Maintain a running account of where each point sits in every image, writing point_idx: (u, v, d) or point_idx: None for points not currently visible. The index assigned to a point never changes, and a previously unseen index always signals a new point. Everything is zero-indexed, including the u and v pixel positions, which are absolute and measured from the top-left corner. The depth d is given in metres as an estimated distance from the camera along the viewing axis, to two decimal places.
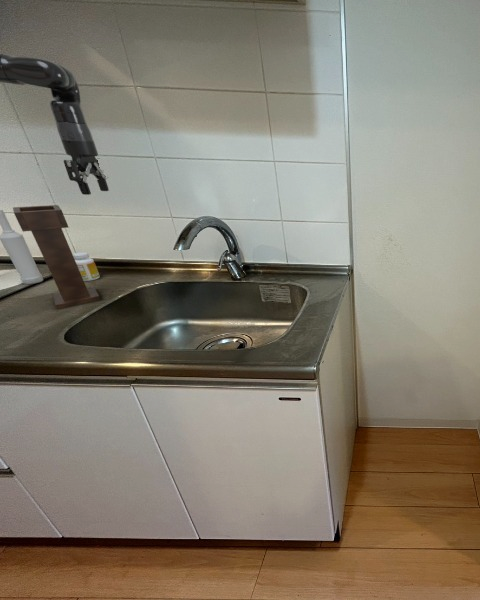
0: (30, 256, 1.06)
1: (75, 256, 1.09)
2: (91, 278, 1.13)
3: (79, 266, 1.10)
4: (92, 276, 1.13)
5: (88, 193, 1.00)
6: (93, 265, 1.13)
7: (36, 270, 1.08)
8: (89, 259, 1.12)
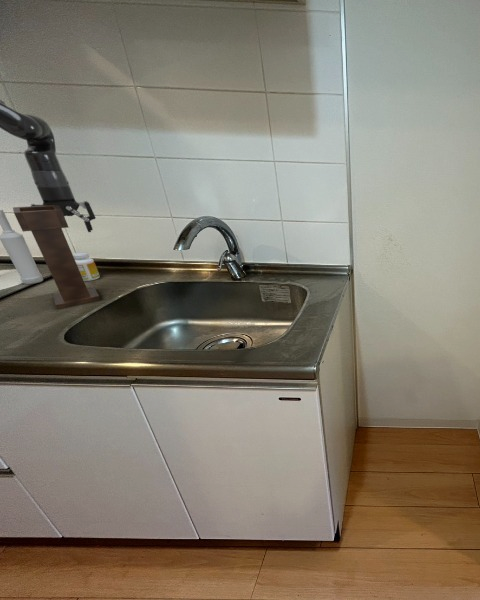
0: (30, 256, 1.06)
1: (75, 256, 1.09)
2: (91, 278, 1.13)
3: (79, 266, 1.10)
4: (92, 276, 1.13)
5: None
6: (93, 265, 1.13)
7: (36, 270, 1.08)
8: (89, 259, 1.12)
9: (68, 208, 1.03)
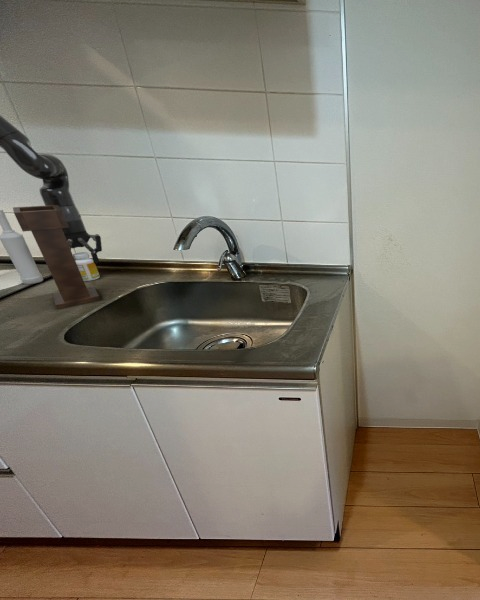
0: (30, 256, 1.06)
1: (75, 256, 1.09)
2: (91, 278, 1.13)
3: (79, 266, 1.10)
4: (92, 276, 1.13)
5: None
6: (93, 265, 1.13)
7: (36, 270, 1.08)
8: (89, 259, 1.12)
9: (80, 240, 1.08)
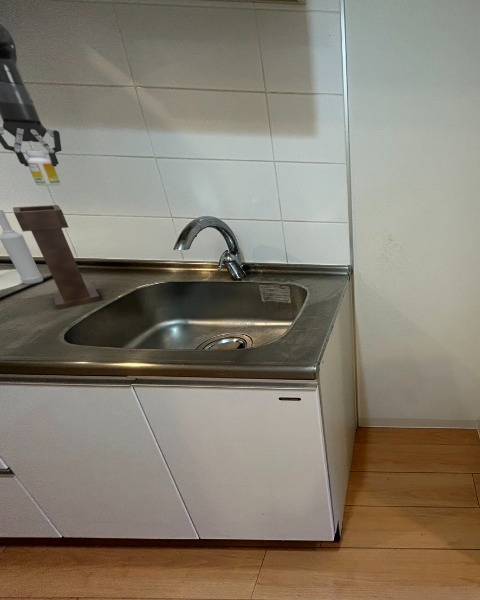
0: (30, 256, 1.06)
1: (28, 152, 0.92)
2: (49, 182, 0.96)
3: (33, 164, 0.93)
4: (50, 180, 0.96)
5: (24, 164, 0.92)
6: (51, 167, 0.96)
7: (36, 270, 1.08)
8: (46, 159, 0.95)
9: (33, 132, 0.91)
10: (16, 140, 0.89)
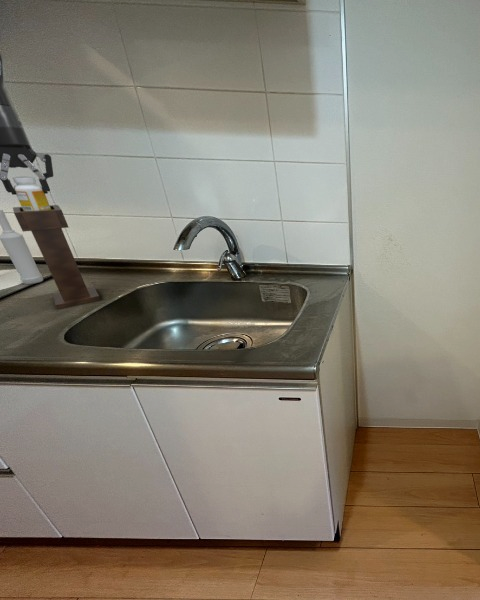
0: (30, 256, 1.06)
1: (15, 179, 0.82)
2: None
3: (21, 193, 0.83)
4: (40, 208, 0.87)
5: None
6: (42, 194, 0.86)
7: (36, 270, 1.08)
8: (36, 186, 0.85)
9: (21, 157, 0.81)
10: (2, 167, 0.80)
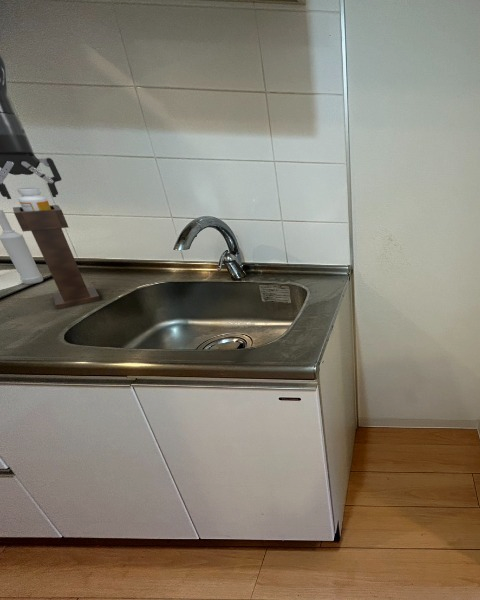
0: (30, 256, 1.06)
1: (20, 191, 0.84)
2: None
3: (26, 204, 0.85)
4: None
5: (7, 197, 0.83)
6: (46, 205, 0.88)
7: (36, 270, 1.08)
8: (40, 197, 0.87)
9: (25, 164, 0.82)
10: (1, 172, 0.80)
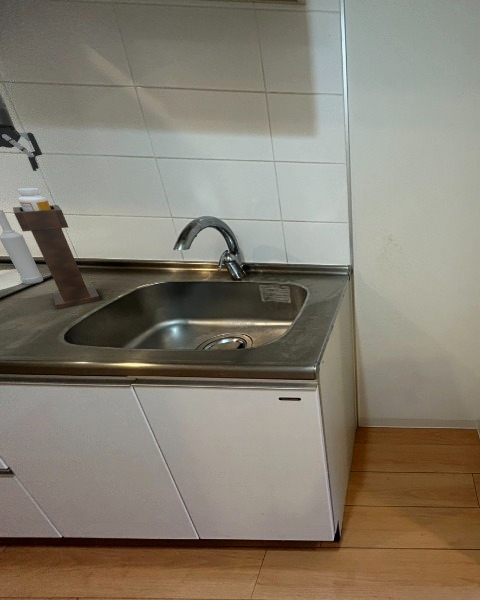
0: (30, 256, 1.06)
1: (20, 191, 0.84)
2: None
3: (26, 204, 0.85)
4: None
5: None
6: (46, 205, 0.88)
7: (36, 270, 1.08)
8: (40, 197, 0.87)
9: (5, 137, 0.85)
10: None
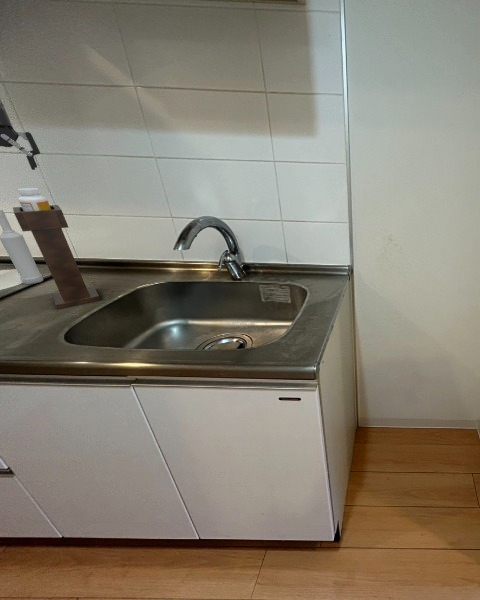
0: (30, 256, 1.06)
1: (20, 191, 0.84)
2: None
3: (26, 204, 0.85)
4: None
5: None
6: (46, 205, 0.88)
7: (36, 270, 1.08)
8: (40, 197, 0.87)
9: (4, 136, 0.87)
10: None
